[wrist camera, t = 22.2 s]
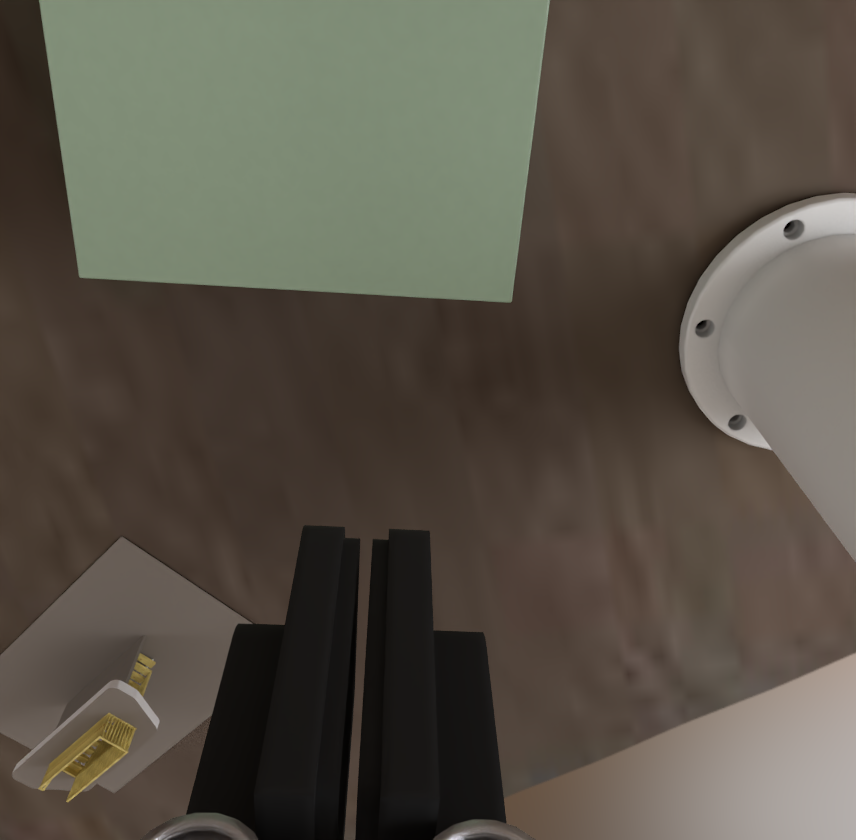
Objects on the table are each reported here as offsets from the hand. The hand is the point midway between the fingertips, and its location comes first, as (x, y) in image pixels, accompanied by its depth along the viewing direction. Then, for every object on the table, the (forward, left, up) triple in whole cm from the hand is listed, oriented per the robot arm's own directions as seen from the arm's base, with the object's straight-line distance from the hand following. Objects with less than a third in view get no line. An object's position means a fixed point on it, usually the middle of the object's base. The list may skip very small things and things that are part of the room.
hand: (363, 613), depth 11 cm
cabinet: (+3, -6, -27) cm, 28 cm away
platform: (+15, +31, -27) cm, 44 cm away
